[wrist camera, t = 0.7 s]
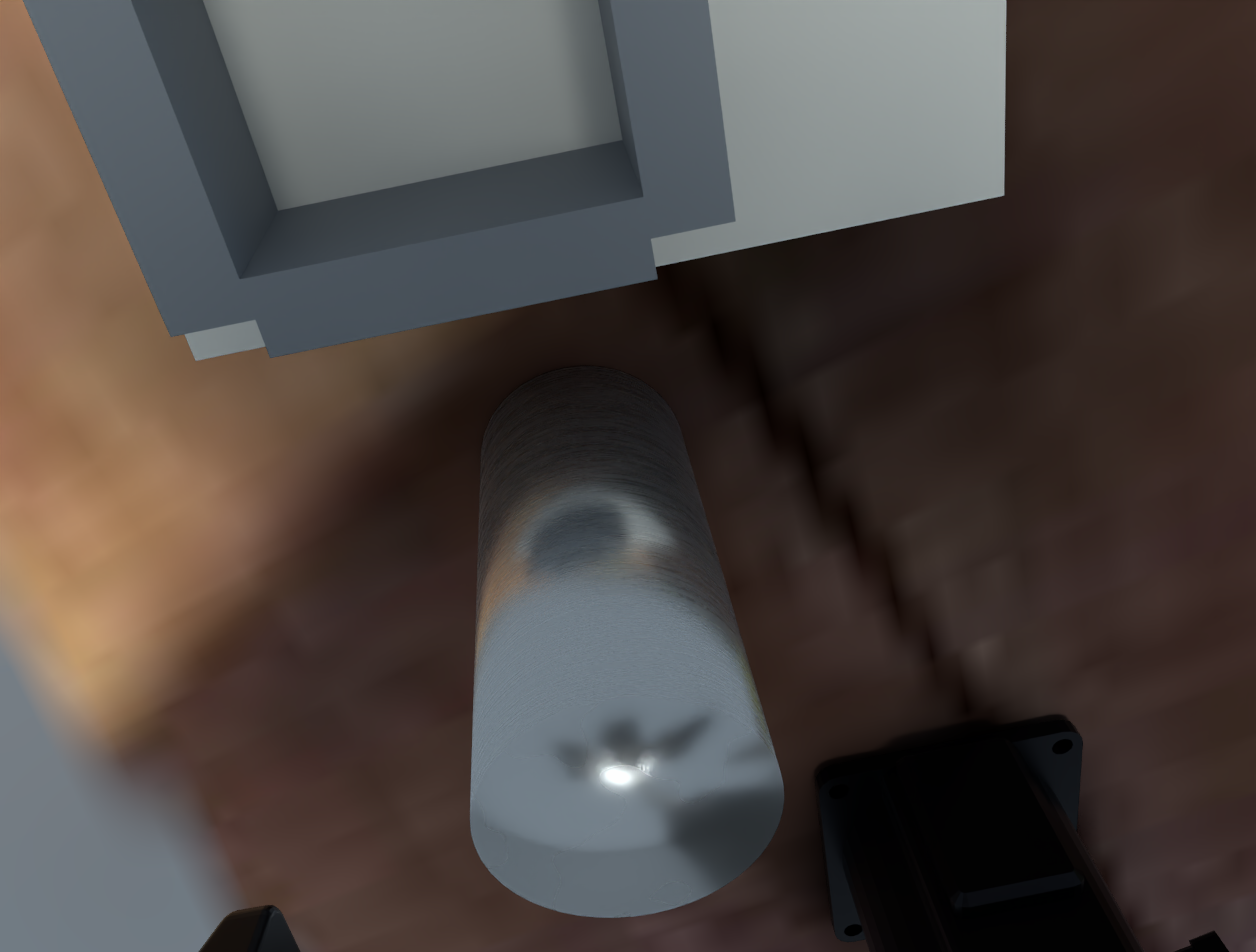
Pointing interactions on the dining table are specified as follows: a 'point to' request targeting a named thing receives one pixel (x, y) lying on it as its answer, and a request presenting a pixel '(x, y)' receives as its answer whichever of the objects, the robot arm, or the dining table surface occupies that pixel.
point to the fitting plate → (504, 144)
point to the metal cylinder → (608, 661)
